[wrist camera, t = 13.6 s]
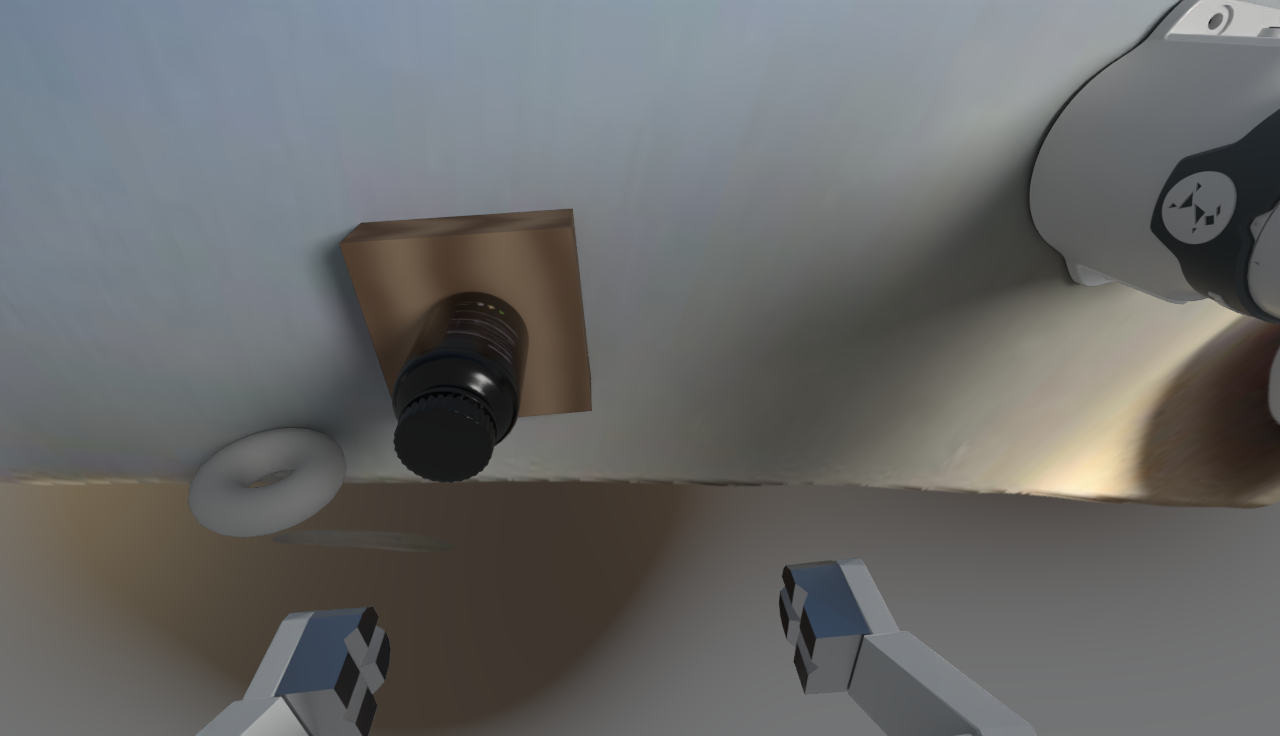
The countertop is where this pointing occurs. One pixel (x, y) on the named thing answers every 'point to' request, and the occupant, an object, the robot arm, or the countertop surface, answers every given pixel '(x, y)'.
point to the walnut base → (479, 262)
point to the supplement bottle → (460, 387)
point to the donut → (274, 507)
